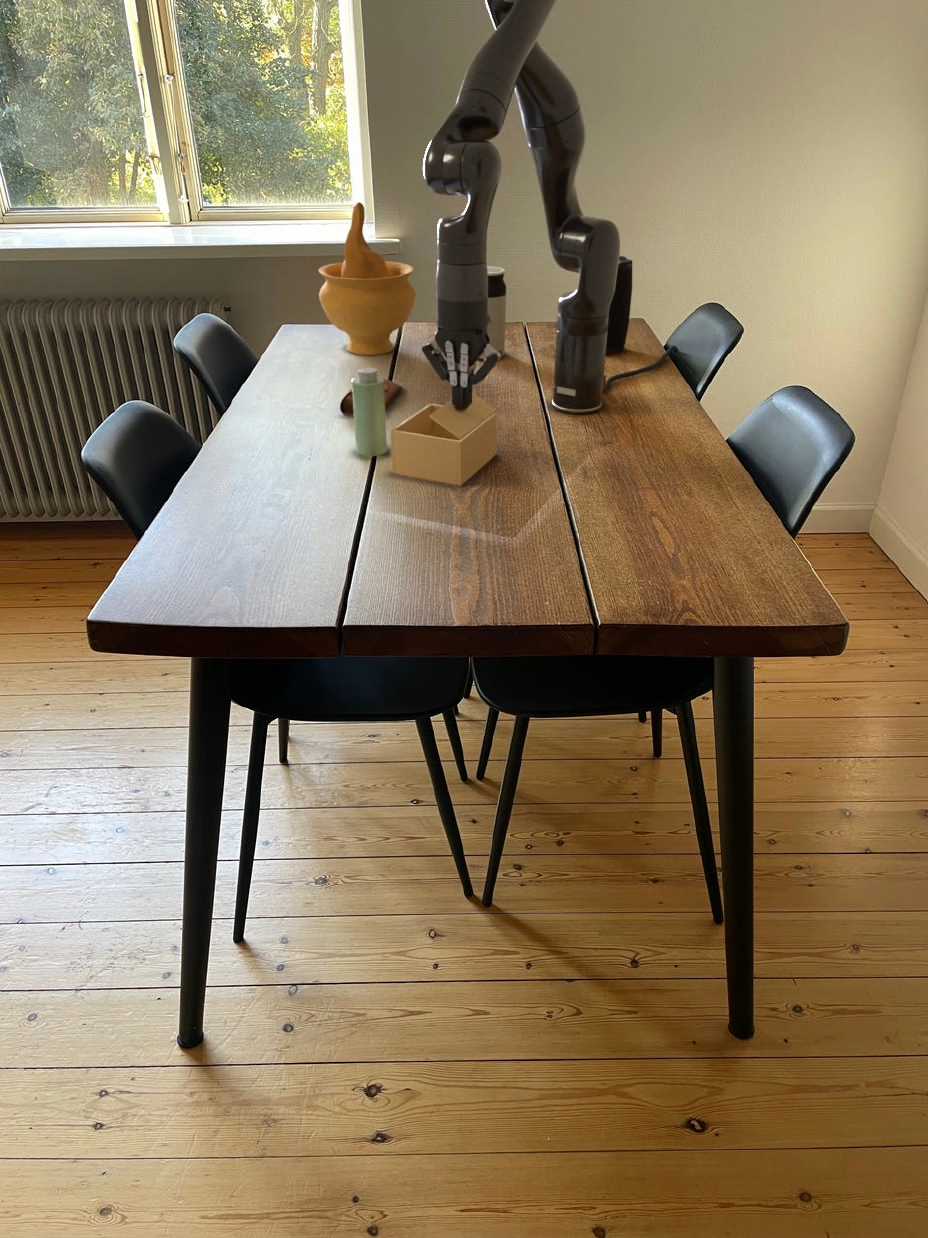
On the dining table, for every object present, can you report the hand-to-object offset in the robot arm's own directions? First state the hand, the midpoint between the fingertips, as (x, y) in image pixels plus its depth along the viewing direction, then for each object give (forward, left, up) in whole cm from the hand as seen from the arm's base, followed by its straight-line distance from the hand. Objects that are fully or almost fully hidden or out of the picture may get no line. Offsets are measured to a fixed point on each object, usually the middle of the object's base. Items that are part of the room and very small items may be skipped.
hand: (461, 408), depth 143 cm
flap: (0, 0, -1) cm, 1 cm away
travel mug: (-61, -22, -10) cm, 66 cm away
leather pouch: (-23, -29, -10) cm, 39 cm away
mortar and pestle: (-55, -48, -10) cm, 74 cm away
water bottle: (0, -17, -10) cm, 20 cm away
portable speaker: (-76, +1, -10) cm, 77 cm away
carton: (0, -3, -10) cm, 11 cm away
